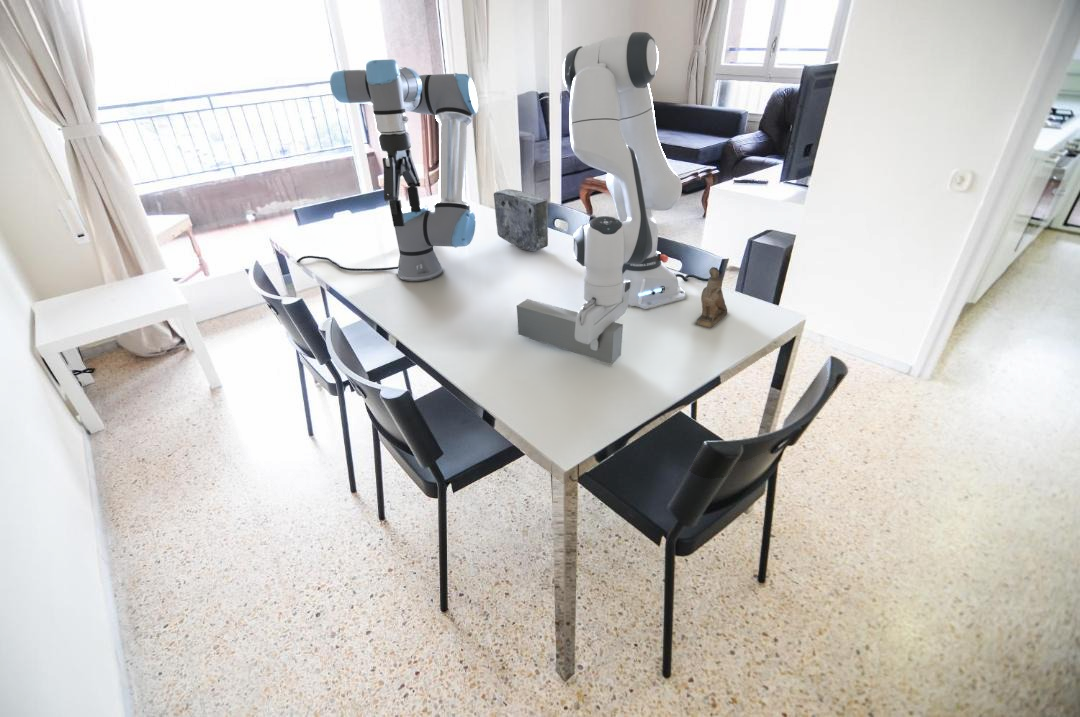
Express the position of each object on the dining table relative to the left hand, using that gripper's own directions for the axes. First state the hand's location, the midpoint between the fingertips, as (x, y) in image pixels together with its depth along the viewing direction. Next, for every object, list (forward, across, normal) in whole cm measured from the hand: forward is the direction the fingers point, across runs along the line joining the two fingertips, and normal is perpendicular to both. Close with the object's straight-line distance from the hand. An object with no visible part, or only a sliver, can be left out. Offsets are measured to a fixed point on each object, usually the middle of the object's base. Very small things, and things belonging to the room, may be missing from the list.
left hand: (408, 218), depth 133 cm
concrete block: (+29, +60, -22) cm, 70 cm away
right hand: (+24, -23, -52) cm, 62 cm away
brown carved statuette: (+29, 0, -83) cm, 88 cm away
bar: (+27, -18, -44) cm, 55 cm away
